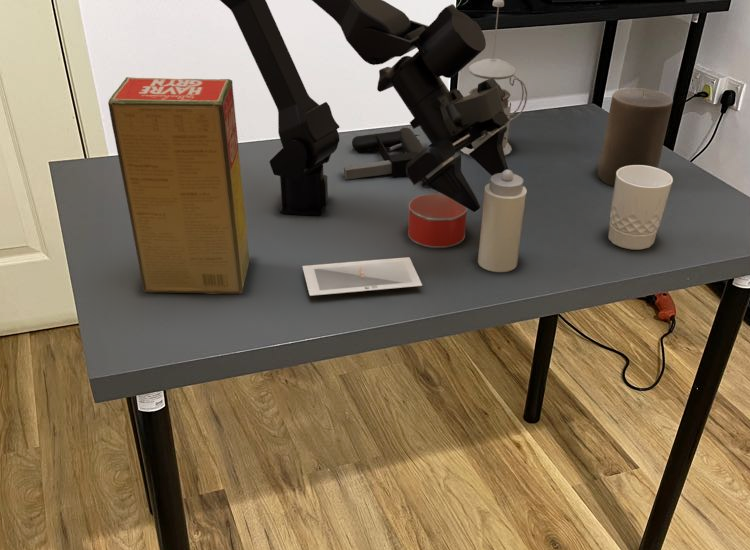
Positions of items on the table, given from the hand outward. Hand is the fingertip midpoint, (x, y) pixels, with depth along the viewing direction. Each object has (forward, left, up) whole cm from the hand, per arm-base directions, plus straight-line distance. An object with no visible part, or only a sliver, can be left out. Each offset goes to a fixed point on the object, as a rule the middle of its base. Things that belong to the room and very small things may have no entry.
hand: (493, 197), depth 112 cm
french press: (+2, +42, -9) cm, 43 cm away
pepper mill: (+1, -1, -9) cm, 9 cm away
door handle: (-16, +31, -9) cm, 36 cm away
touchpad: (-17, -8, -9) cm, 21 cm away
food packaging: (-39, -9, -9) cm, 41 cm away
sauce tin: (-7, +7, -9) cm, 14 cm away
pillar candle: (+25, +31, -10) cm, 41 cm away
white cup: (+22, +8, -9) cm, 25 cm away
